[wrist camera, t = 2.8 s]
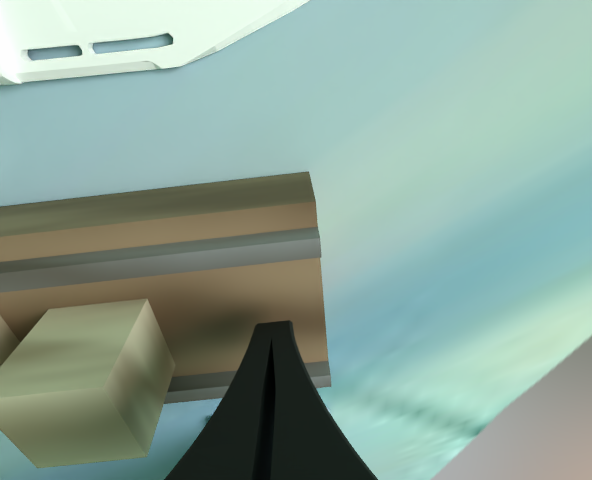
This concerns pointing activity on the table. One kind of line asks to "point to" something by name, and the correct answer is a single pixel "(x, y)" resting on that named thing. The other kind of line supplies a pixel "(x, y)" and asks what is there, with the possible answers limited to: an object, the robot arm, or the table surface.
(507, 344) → the table surface
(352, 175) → the table surface
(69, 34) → the knife
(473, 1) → the table surface
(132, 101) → the table surface
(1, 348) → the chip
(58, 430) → the beige cube
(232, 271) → the slot block
